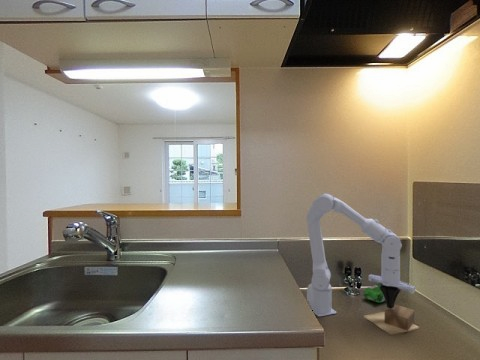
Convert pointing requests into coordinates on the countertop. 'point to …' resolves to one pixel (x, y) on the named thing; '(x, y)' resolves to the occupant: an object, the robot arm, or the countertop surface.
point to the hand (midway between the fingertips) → (390, 307)
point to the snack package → (374, 293)
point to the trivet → (380, 322)
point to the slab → (399, 317)
